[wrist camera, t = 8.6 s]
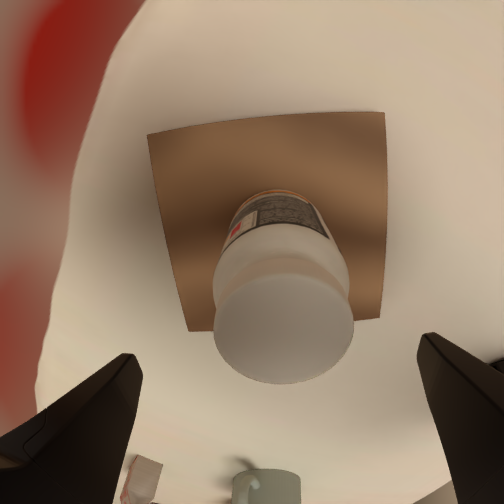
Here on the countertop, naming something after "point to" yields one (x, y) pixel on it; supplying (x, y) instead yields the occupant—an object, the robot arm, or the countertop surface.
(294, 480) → the mug
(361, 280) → the plinth
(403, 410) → the countertop surface
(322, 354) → the pill bottle
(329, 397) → the countertop surface
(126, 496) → the small printed carton
